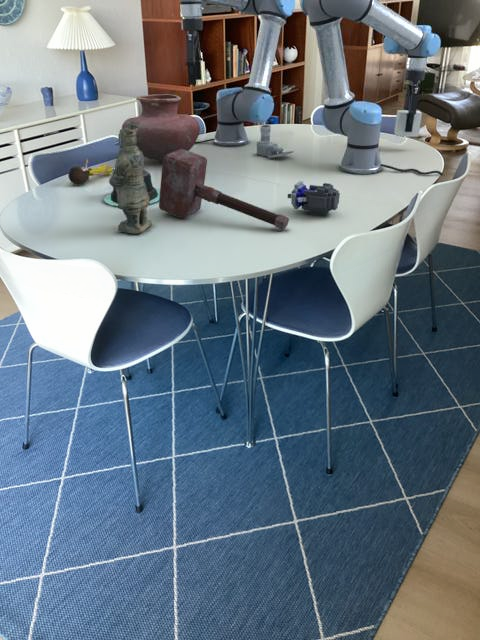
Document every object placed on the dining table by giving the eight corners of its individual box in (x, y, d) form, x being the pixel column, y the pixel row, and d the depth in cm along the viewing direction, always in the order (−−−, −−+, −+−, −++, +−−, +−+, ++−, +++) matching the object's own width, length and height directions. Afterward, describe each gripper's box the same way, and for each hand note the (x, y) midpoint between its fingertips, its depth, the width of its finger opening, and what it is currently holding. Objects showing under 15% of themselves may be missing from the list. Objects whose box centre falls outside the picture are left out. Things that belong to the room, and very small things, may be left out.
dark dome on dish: (91, 202, 180) (113, 186, 197) (142, 231, 182) (160, 212, 199) (107, 162, 172) (129, 148, 190) (160, 192, 174) (177, 176, 192)
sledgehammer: (299, 190, 156) (179, 147, 167) (285, 200, 148) (161, 154, 160) (286, 244, 166) (174, 200, 177) (272, 256, 158) (156, 209, 170)
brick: (396, 136, 229) (399, 112, 225) (394, 133, 235) (397, 110, 230) (418, 136, 229) (422, 113, 224) (415, 133, 234) (419, 110, 229)
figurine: (134, 159, 212) (83, 166, 193) (134, 179, 215) (84, 188, 196) (109, 155, 218) (58, 161, 199) (110, 174, 221) (59, 182, 202)
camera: (266, 123, 231) (294, 128, 223) (265, 151, 237) (293, 157, 229) (252, 126, 226) (281, 131, 217) (252, 155, 232) (280, 162, 223)
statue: (131, 220, 168) (117, 116, 152) (158, 224, 164) (147, 118, 149) (109, 233, 159) (93, 124, 144) (138, 237, 156) (124, 126, 140)
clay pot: (207, 152, 239) (204, 90, 226) (190, 171, 213) (185, 102, 200) (140, 150, 243) (133, 89, 231) (115, 169, 218) (106, 101, 205)
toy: (295, 178, 172) (342, 184, 166) (295, 205, 177) (340, 211, 171) (285, 186, 166) (333, 192, 160) (284, 213, 170) (331, 220, 164)
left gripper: (197, 19, 187) (200, 86, 198) (206, 16, 208) (209, 77, 219) (175, 19, 188) (179, 87, 198) (186, 17, 209) (190, 77, 220)
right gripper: (430, 72, 211) (420, 134, 222) (420, 67, 227) (411, 125, 239) (410, 72, 211) (401, 134, 223) (401, 66, 228) (393, 125, 239)
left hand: (195, 82), depth 209 cm, fingers open, 13 cm apart
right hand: (406, 129), depth 231 cm, fingers closed on brick, 6 cm apart
